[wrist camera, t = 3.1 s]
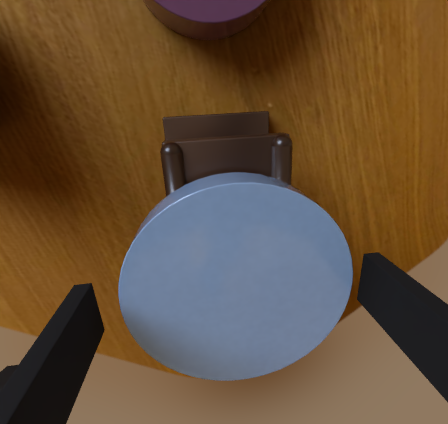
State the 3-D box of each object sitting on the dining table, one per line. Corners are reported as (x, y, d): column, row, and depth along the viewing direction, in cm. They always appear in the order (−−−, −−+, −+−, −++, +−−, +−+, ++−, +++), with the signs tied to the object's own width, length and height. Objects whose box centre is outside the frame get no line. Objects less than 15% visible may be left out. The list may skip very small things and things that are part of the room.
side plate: (343, 163, 13) (368, 172, 11) (324, 338, 17) (340, 366, 15) (108, 181, 12) (91, 194, 10) (147, 360, 16) (140, 393, 14)
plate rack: (264, 111, 19) (305, 110, 12) (264, 296, 24) (292, 370, 17) (164, 117, 18) (144, 119, 11) (188, 305, 24) (185, 385, 17)
